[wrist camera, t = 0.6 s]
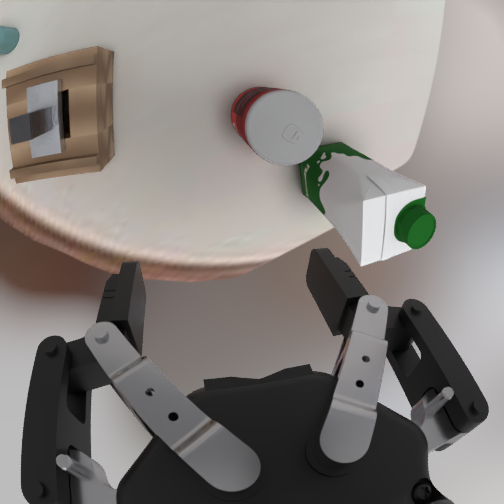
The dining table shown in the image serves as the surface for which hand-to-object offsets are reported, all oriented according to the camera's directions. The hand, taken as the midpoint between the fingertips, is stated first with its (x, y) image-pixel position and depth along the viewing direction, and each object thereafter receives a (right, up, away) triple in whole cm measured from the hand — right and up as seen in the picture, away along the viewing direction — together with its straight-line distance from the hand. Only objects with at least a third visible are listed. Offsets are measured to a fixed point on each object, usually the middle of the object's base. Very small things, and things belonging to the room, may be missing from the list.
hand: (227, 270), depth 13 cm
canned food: (+2, +19, +21) cm, 28 cm away
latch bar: (-21, +15, +9) cm, 27 cm away
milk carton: (+11, +13, +27) cm, 32 cm away
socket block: (-22, +19, +15) cm, 33 cm away
